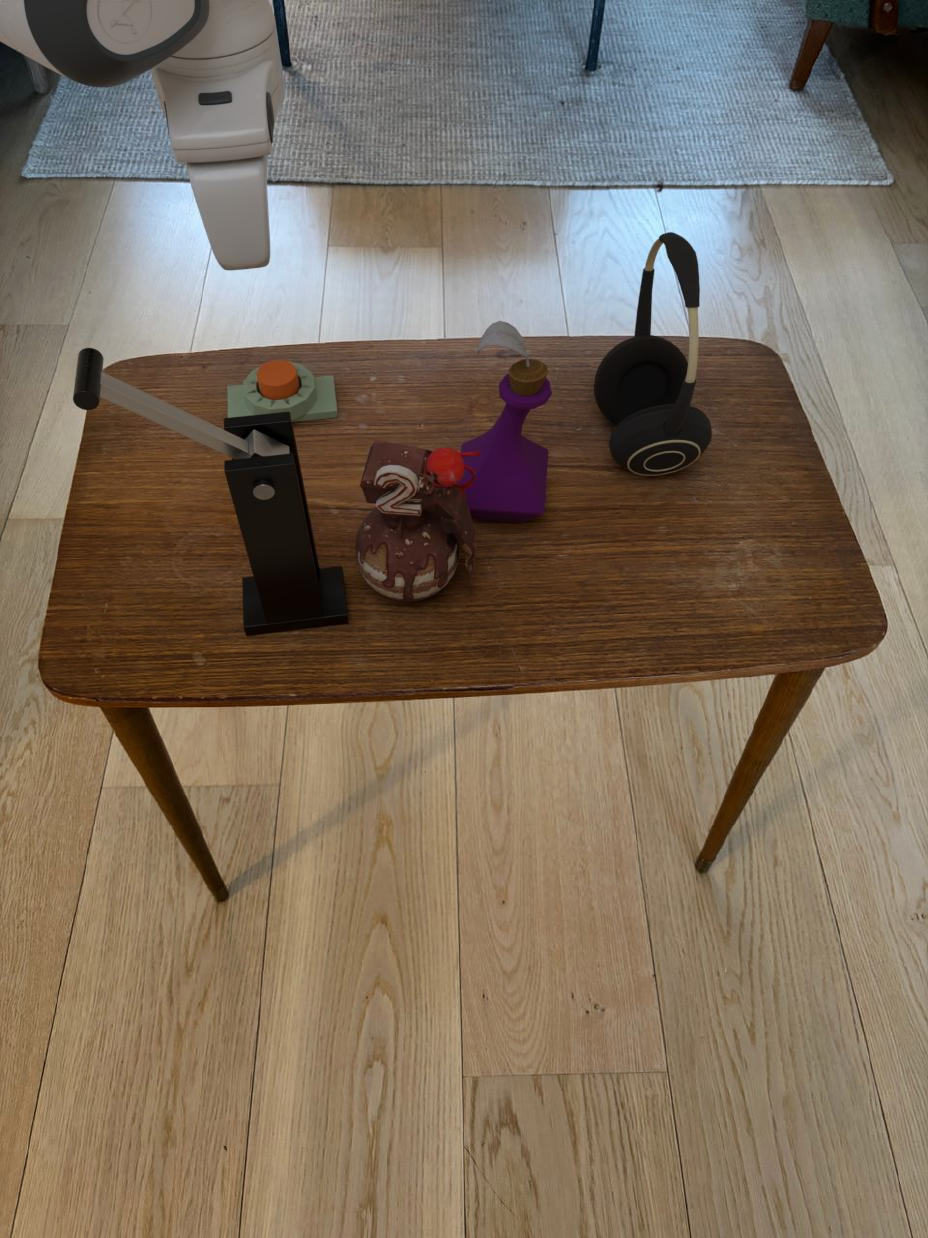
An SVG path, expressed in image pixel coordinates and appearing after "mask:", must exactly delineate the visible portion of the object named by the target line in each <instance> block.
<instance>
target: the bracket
mask: <svg viewBox="0 0 928 1238" xmlns="http://www.w3.org/2000/svg"><path fill="white" fill-rule="evenodd" d="M223 430H225V431H227V432H229V433H231V434H233V435H235V436H238V437H240V438H242V439H244V440H245V439H246V438H247V437H248V435H249V434H250V433H251V432H252V431H253V430H256V431H258V432H260V433H262V434H265V435H267V436H269V437H271V438H273V439H275V440H277V441H279V442H281V443H283V444H285V445H287V446H289V451H290V454H281V455H271V456H262V457H253V458H243V459H233V458H231V459H227V460H224V461H223V472H224V475H225V479H226V482H227V486H228V489H229V493H230V497H231V500H232V504H233V508H234V512H235V514H236V518H237V519H236V520H237V522H238V525H239V529H240V533H241V536H242V540H243V544H244V548H245V550H246V551H245V552H246V554H247V559H248V562H249V565H250V569H251V572H252V576H244V577H242V578H241V584H242V585H241V586H242V621H243V623H242V624H243V625H242V626H243V627H242V628H243V630H244V633H245V636H246V637H250V636H257V635H259V636H260V635H266V634H274V633H282V632H290V631H299V630H306V629H314V628H315V629H316V628H322V627H324V628H325V627H331V626H338V625H339V626H340V625H347V624H349V613H348V605H347V603H348V602H347V592H346V584H345V574H344V568H343V565H338V566H329V567H320V562H319V557H318V552H317V547H316V541H315V537H314V530H313V525H312V520H311V515H310V509H309V504H308V499H307V494H306V493H307V492H306V489H305V483H304V478H303V473H302V467H301V462H300V457H299V451H298V446H297V440H296V436H295V435H296V434H295V431H294V425H293V422H292V419H291V414H290V412H289V411H288V412H279V413H269V414H259V415H250V416H240V417H231V418H228V417H224V418H223Z"/></svg>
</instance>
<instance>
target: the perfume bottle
mask: <svg viewBox="0 0 928 1238" xmlns="http://www.w3.org/2000/svg"><path fill="white" fill-rule="evenodd" d="M488 346H498V347H502V348H506V349H509V350H511V351H513V352H515V353H517V354H519V355H521V356H523V357H525V358H524V359H521V360H520V359H519V361H516V362H514V363H513V364H511V366H510V367H509V369H508V373H506V374H505V375H504V377H503V378H502V379H501V381H500V382H499V384H498V392H499V397H500V398H501V399H502V401H504V403H505V405H504V407H503V409H502V411H501V412H500V415H499V416H498V418H497V419H496V421H495V422H494V424H493V425H492V426H491V427H490V428H489V430H487V431H485V432H483V433H481V434H480V435H478V436H476V437H474V438H471V439H470V440H468V441H465V442H463V443H461V446H460V452H463V453H464V452H475V451H480V450H481V452H480V454H479V455H476V456H464V457H463V456H461V457H462V459H463V462H464V464H465V465H467V466H469V467H471V468H472V469H473V470H474V471H475V473H476V474H475V480H474V481H473V483H472V485H471V487H470V488H467V489H465V490H464V491H465V495H466V498H467V502H468V506H469V510H470V514H471V517H472V520H475V521H477V522H478V521H480V522H494V523H507V524H520V525H521V524H524V523H527V522H529V521H531V520H533V519H536V518H538V517H540V516H543V515H544V514H545V511H546V497H547V496H546V494H547V481H548V468H549V467H548V466H549V449H548V448H547V447H544V446H543V445H540V444H538V443H536V442H534V441H533V440H530V439H529V438H527V437H526V436H524V435H523V434H522V430H523V425H524V423H525V420H526V418H527V416H528V414H529V413H530V411H531V410H535V409H537V408H540V407H541V406H543V405H546V404H547V402H548V401H549V399H550V398H551V396H552V394H553V392H552V387H551V380H549V379H548V378H547V376H548V373H549V367H548V365H547V364H545V363H544V362H542V361H541V360H539V359H535V358H529V356H528V352H527V349H526V345H525V341H524V337H523V335H522V334H521V333H520V332H519V330H518V329H517V328H516V327H515V326H513V324H511V323H509V322H507V321H503V320H498V321H496V322H492V323H491V324H490V325H489V326H488V327H487V328H486V329H485V331H484V332H483V335H482V336H481V337H480V339H479V340H478V343H477V346H476V347H477V348H476V349H477V355H479V354H480V351H481V350H483V349H484V348H486V347H488ZM472 477H473V476H472V474H471V473H470V471H468V470H466V469H465V468H464V476H463V477H462V478H461V479H460V480H459V481H458V482H456V483H455V484H463V483H467V482H469V481H470V480H471V479H472Z"/></svg>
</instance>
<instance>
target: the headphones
mask: <svg viewBox="0 0 928 1238" xmlns="http://www.w3.org/2000/svg"><path fill="white" fill-rule="evenodd" d="M662 245H664V249H665V252H666V256H667V259H668V261H669V263H670V264H671V266H672V268H673V270H674V272H675V275H676V278H677V281H678V284H679V286H680V291H681V294H682V297H683V300H684V307H685V308H687V315H688V358H686V355H684V353H683V352H682V351H681V350H680V348H679V347H678V346H677V345H675V344H674V343H673V342H672V341H670V340H668V339H666V338H664V337H661V336H657V335H652V334H651V333H652V309H653V287H654V286H653V285H654V278H655V262H656V258H657V255H658V253H659V251H660V250H661V249H660V248H661V247H662ZM640 280H641V281H640V287H639V293H638V299H637V300H638V301H637V308H636V317H635V324H634V325H635V326H634V336H632V337H630V338H627V339H625V340H623V341H621V342H619V343H618V344H616V345H614V347H613V348H611V349H610V350H609V351H608V352H607V353H606V355H605V356H604V357H603V358H602V359H601V361H600V363H599V365H598V366H597V370H596V372H595V376H594V382H593V394H594V398H595V402H596V405H597V407H598V409H599V410H600V413H601V414H602V415H603V417H604V418H605V419H606V420H607V421H608V422H610V423H611V424H612V425H614V426H615V427H614V428H613V429H612V431H611V433H610V435H609V436H610V438H609V441H608V447H609V453H610V456H611V458H612V460H613V461H614V462H615V463H616V464H617V465H618V466H620V467H621V468H623V469H625V470H626V471H628V472H631V473H632V474H635V475H637V476H638V475H639V476H645V477H646V476H647V477H654V476H655V477H657V476H664V475H669V474H671V473H675V472H679V471H681V470H683V469H686V468H687V467H690V466H692V464H694V463H695V462H696V461H697V460H698V459H699V458H700V457H701V456H702V454H704V452H705V451H706V450H707V448H708V447H709V445H710V444H711V441H712V438H713V429H712V424H711V421H710V418H709V417H708V416H707V414H706V413H705V412H704V411H702V410H701V409H699V408H697V407H695V406H691V403H692V400H693V395H694V393H695V388H696V384H697V379H696V376H697V369H698V361H699V338H700V337H699V311H698V310H699V307H700V299H701V297H700V294H701V287H700V286H701V285H700V269H699V261H698V256H697V252H696V250H695V249H694V247H693V246H692V244H691V243H690V242H689V241H688V240H687V239H686V238H684V236H681V235H679V234H678V233H675V232H674V231H673V232H671V231H670V232H665V233H662V234H660V235H659V236H658V238H657V239H656V240H655V241H654V243H653V244H652V246H651V247H650V250H649V252H648V255H647V258H646V262H645V266H644V268H643V269H642V274H641V279H640ZM687 359H688V360H687Z"/></svg>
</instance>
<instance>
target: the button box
mask: <svg viewBox="0 0 928 1238" xmlns="http://www.w3.org/2000/svg"><path fill="white" fill-rule="evenodd" d="M287 361H288V362H290V363H292V364H293V365H294V366H295V368H296V370H297V376H298V381H299V389H298V391H297V392H296V394H295V395H293V396H291V397H289V398H287V399H282V400H270V399H268V398H266V397H264V396H263V395H262V394H261V392H260V388H259V384H258V379H257V371H258V369H259V368H260V367H261V366H259V367H257V368H254V369H253V370H251V371H250V373H249V374H248V375H247V376H246V378H245V379H244V380H243V382H242V384H235V385H227V387H226V393H227V394H226V395H227V397H226V398H227V400H226V401H227V418H231V417H240V416H250V415H259V414H269V413H279V412H288V411H289V412H290V414H291V419H292V423H298V422H307V421H308V422H309V421H317V420H326V419H337V418H339V410H338V402H337V394H336V384H335V377H334V375H332V374H331V375H324V376H315V375H314V374H313V373H312V372H311V371H310V370H309V369H308V368H307V367H306V366H305V365H303V364H300V363H298V362H297V363H296V362H292V361H289V360H287Z"/></svg>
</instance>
